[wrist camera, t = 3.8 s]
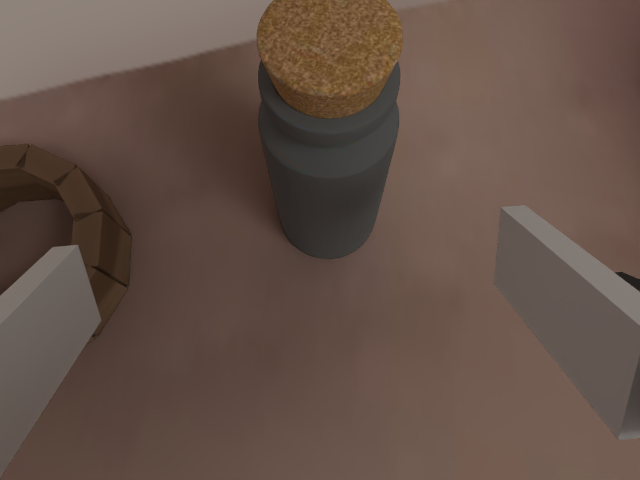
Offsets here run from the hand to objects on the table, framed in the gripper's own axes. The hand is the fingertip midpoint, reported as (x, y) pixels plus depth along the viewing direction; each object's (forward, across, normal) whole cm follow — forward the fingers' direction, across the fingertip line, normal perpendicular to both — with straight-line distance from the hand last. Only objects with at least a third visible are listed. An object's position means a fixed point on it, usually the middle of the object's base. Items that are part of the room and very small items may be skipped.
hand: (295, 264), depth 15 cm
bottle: (+14, +2, -4) cm, 15 cm away
